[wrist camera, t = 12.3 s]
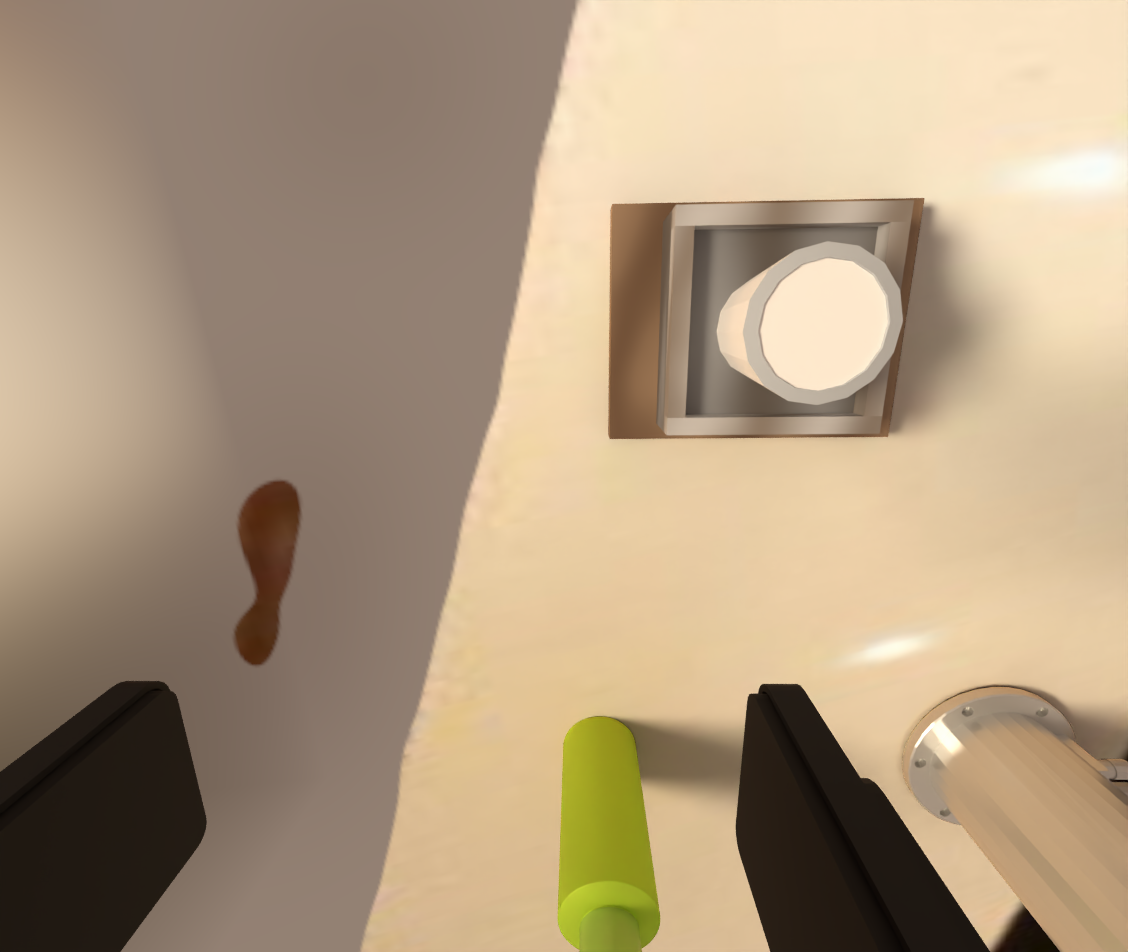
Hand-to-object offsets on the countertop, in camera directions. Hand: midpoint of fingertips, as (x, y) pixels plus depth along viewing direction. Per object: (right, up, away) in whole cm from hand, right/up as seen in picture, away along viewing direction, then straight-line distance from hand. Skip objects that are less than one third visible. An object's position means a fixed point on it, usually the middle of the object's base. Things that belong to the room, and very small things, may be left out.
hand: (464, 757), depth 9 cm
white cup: (+13, +13, +21) cm, 28 cm away
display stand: (+14, +14, +25) cm, 32 cm away
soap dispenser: (+5, -18, +34) cm, 39 cm away
